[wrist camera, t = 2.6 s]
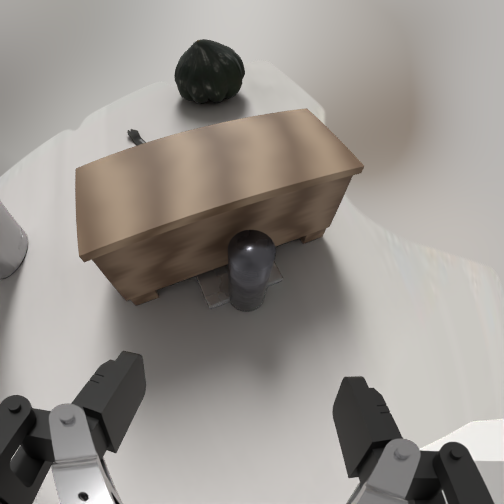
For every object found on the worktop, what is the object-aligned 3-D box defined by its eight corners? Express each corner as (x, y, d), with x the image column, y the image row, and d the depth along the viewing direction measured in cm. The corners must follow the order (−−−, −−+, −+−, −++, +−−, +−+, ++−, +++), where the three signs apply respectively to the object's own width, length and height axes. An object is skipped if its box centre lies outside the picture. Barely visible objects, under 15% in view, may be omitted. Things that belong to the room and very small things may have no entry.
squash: (248, 60, 56) (205, 20, 44) (264, 87, 49) (213, 39, 37) (204, 95, 62) (159, 62, 51) (211, 128, 55) (156, 90, 44)
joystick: (216, 325, 30) (209, 289, 22) (182, 239, 36) (169, 184, 27) (289, 295, 33) (309, 250, 24) (246, 217, 38) (251, 161, 29)
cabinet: (129, 312, 30) (79, 256, 19) (112, 238, 35) (75, 168, 24) (330, 237, 37) (364, 166, 26) (290, 180, 42) (306, 108, 31)
